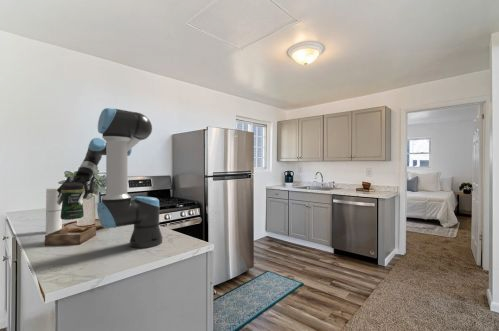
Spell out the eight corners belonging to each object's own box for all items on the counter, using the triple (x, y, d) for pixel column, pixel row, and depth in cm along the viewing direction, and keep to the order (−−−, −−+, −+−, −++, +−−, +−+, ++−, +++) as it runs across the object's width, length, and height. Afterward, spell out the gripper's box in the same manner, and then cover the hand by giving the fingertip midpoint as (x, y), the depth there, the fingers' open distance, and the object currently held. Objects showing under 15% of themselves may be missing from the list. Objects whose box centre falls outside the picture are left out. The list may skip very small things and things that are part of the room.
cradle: (96, 235, 133) (96, 226, 133) (80, 244, 118) (80, 234, 118) (65, 236, 131) (65, 227, 131) (44, 245, 116) (45, 235, 116)
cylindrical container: (52, 234, 135) (53, 189, 135) (42, 233, 136) (42, 189, 136) (64, 230, 142) (65, 188, 142) (54, 230, 143) (55, 187, 143)
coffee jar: (61, 221, 118) (61, 183, 118) (59, 218, 124) (59, 182, 124) (85, 218, 125) (85, 182, 125) (82, 215, 131) (82, 181, 131)
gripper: (108, 175, 141) (95, 207, 126) (67, 175, 138) (48, 207, 123) (104, 166, 136) (89, 198, 120) (62, 166, 133) (41, 198, 117)
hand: (69, 203), depth 122 cm, fingers closed on coffee jar, 9 cm apart
